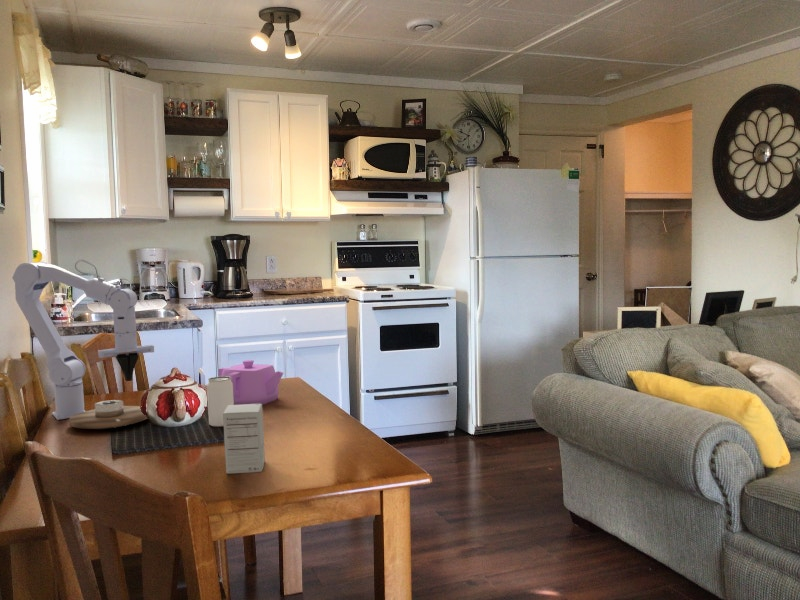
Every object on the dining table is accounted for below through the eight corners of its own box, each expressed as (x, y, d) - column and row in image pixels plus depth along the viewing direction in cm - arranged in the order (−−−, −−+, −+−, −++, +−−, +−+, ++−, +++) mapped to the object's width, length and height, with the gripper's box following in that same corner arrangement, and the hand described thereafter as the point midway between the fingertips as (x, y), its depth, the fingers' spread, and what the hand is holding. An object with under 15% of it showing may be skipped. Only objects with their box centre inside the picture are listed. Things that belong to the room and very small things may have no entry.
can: (228, 427, 180) (225, 380, 179) (204, 426, 182) (202, 380, 181) (238, 421, 187) (236, 376, 186) (215, 420, 188) (213, 375, 187)
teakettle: (216, 399, 215) (214, 359, 214) (272, 393, 222) (270, 354, 221) (226, 410, 200) (224, 367, 199) (285, 403, 206) (283, 361, 205)
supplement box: (230, 463, 150) (227, 404, 149) (265, 461, 151) (263, 402, 150) (224, 474, 143) (221, 412, 142) (262, 472, 144) (259, 410, 143)
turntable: (63, 417, 191) (63, 413, 190) (140, 406, 202) (140, 402, 202) (77, 433, 174) (76, 428, 174) (159, 419, 185) (159, 415, 185)
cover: (92, 414, 188) (91, 402, 188) (119, 410, 192) (119, 398, 192) (98, 419, 183) (98, 406, 182) (127, 415, 187) (126, 402, 186)
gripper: (100, 336, 190) (104, 386, 191) (155, 331, 198) (158, 379, 199) (95, 333, 196) (98, 382, 197) (149, 328, 204) (151, 375, 205)
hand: (128, 380), depth 199 cm, fingers closed
